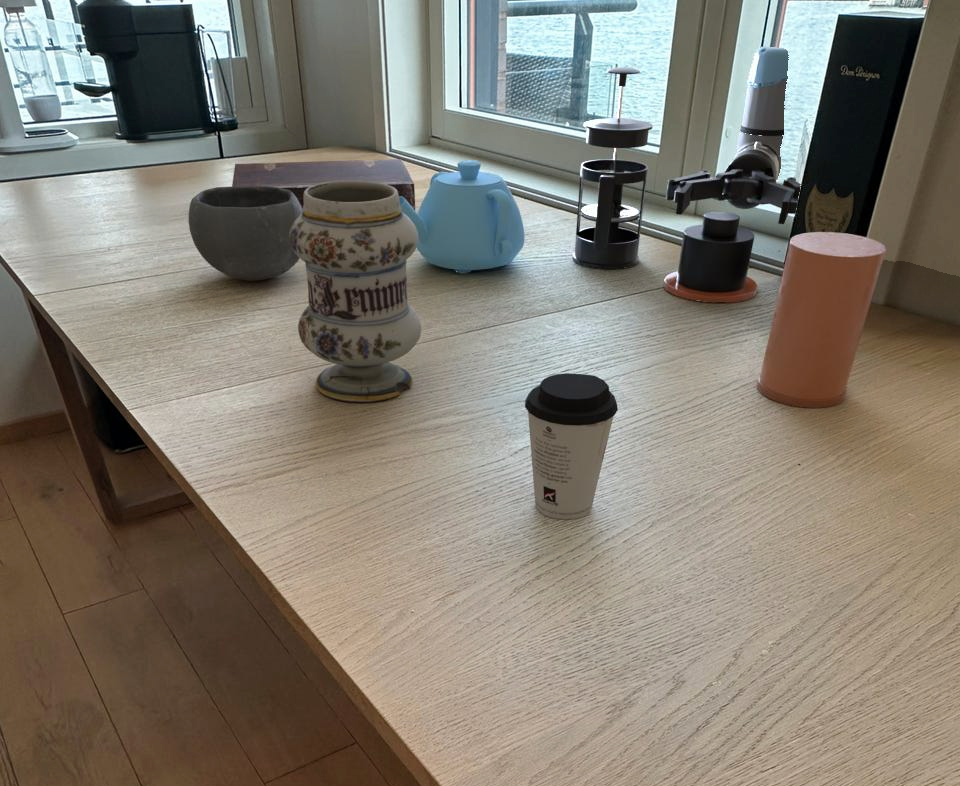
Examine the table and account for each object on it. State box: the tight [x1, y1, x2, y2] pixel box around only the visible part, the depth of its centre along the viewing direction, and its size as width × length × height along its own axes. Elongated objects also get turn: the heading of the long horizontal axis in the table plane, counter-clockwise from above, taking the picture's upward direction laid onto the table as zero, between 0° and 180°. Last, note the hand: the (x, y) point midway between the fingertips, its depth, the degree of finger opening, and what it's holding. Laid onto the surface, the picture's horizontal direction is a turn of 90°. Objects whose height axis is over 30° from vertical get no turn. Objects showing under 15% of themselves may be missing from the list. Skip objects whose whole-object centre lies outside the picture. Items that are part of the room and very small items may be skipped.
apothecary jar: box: [289, 180, 422, 403], centre depth 82 cm, size 12×12×18 cm
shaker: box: [756, 231, 887, 409], centre depth 83 cm, size 9×9×14 cm
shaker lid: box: [677, 211, 755, 293], centre depth 110 cm, size 9×9×8 cm
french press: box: [572, 66, 654, 270], centre depth 115 cm, size 12×9×23 cm
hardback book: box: [231, 158, 416, 211], centre depth 145 cm, size 29×19×5 cm, turn 101°
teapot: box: [399, 160, 525, 274], centre depth 116 cm, size 20×20×13 cm
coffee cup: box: [524, 372, 619, 520], centre depth 66 cm, size 7×7×10 cm
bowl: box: [188, 185, 302, 282], centre depth 112 cm, size 15×15×10 cm
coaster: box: [663, 270, 759, 304], centre depth 113 cm, size 12×12×1 cm
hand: (730, 208), depth 114 cm, fingers open, 13 cm apart
